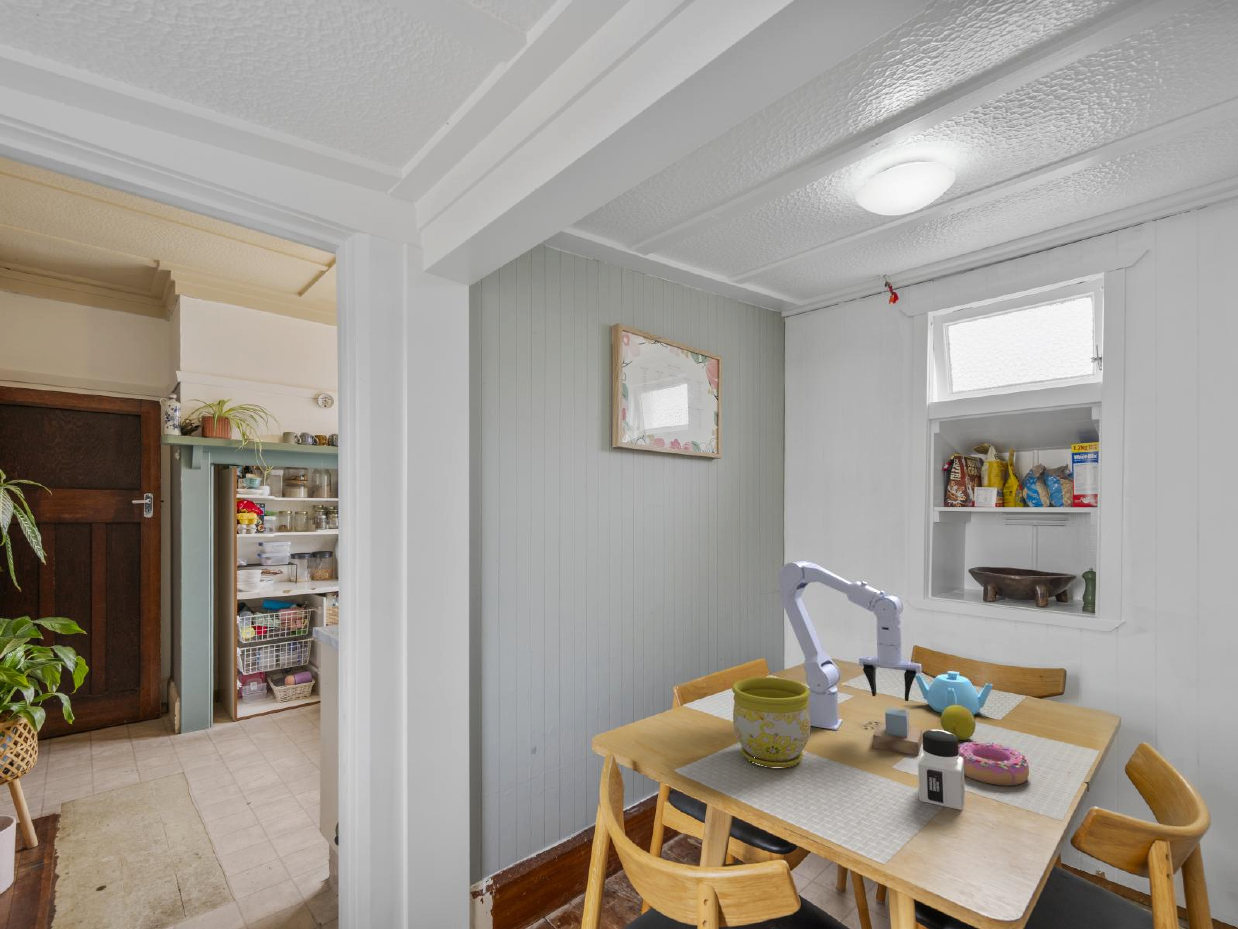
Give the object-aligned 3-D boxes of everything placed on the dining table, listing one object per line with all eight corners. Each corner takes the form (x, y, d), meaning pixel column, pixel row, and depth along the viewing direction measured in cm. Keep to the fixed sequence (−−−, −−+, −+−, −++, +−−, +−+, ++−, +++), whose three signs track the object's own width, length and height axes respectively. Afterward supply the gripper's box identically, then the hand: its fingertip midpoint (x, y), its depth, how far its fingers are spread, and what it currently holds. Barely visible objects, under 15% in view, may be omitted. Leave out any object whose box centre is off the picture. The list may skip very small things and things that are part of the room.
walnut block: (873, 747, 154) (873, 735, 154) (879, 734, 163) (878, 722, 163) (918, 755, 149) (918, 742, 149) (922, 741, 158) (921, 729, 158)
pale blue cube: (885, 734, 155) (885, 713, 155) (888, 727, 159) (887, 707, 159) (907, 737, 153) (906, 716, 153) (909, 731, 157) (908, 710, 157)
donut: (943, 761, 147) (942, 739, 147) (1005, 761, 146) (1004, 739, 146) (976, 789, 132) (975, 765, 133) (1045, 789, 132) (1044, 765, 132)
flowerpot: (826, 771, 141) (824, 696, 142) (749, 777, 138) (748, 701, 139) (791, 740, 159) (789, 674, 160) (723, 746, 156) (721, 678, 157)
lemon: (970, 748, 153) (969, 714, 154) (936, 740, 159) (934, 707, 159) (981, 735, 161) (980, 704, 162) (948, 728, 167) (947, 697, 167)
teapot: (998, 717, 175) (996, 677, 176) (951, 721, 172) (950, 681, 172) (957, 700, 190) (955, 663, 191) (913, 704, 187) (912, 667, 187)
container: (962, 811, 123) (959, 743, 123) (918, 801, 127) (916, 735, 128) (965, 795, 129) (962, 730, 130) (923, 786, 133) (921, 724, 134)
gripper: (856, 643, 161) (857, 697, 160) (918, 650, 154) (920, 706, 153) (861, 638, 167) (862, 689, 166) (921, 644, 160) (922, 698, 159)
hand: (890, 697), depth 160 cm, fingers open, 7 cm apart
